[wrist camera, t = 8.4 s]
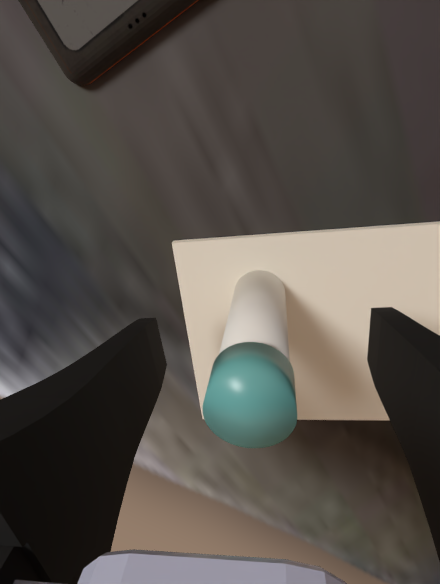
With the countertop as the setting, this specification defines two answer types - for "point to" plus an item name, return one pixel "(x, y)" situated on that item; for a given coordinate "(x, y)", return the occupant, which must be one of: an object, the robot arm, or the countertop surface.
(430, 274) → the notepad
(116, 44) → the phone
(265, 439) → the marker
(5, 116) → the countertop surface
